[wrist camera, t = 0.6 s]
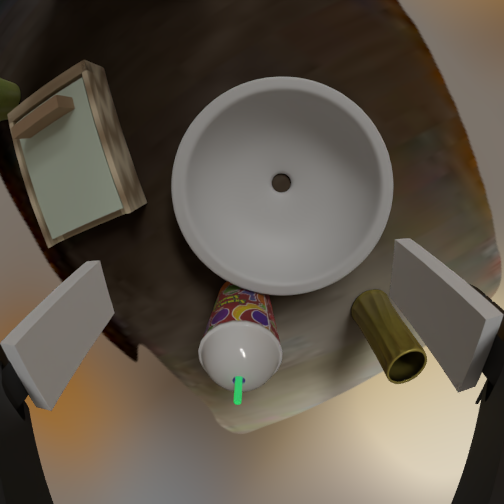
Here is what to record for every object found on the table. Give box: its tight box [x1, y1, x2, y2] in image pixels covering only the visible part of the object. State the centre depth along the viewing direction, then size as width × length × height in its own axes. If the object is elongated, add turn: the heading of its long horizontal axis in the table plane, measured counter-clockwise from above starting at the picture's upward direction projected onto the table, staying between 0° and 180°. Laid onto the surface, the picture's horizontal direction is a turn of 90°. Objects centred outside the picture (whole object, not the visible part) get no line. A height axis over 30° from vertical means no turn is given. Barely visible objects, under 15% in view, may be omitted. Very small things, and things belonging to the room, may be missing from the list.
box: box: [7, 60, 147, 248], centre depth 33 cm, size 20×14×6 cm
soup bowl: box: [171, 77, 393, 296], centre depth 34 cm, size 24×24×7 cm
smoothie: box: [198, 281, 283, 405], centre depth 33 cm, size 8×8×20 cm
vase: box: [352, 290, 427, 384], centre depth 37 cm, size 6×6×14 cm
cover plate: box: [11, 77, 124, 239], centre depth 30 cm, size 17×12×5 cm
